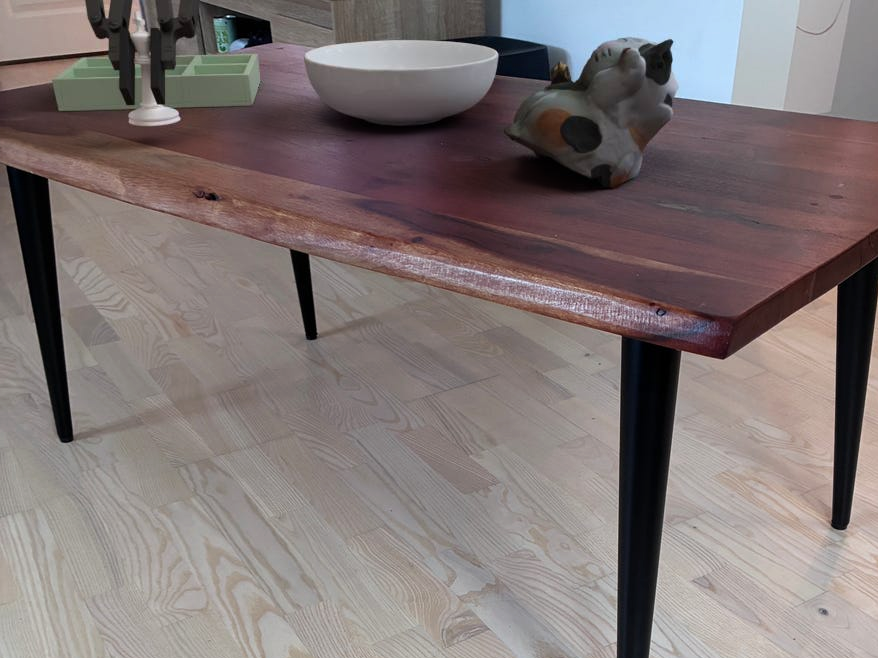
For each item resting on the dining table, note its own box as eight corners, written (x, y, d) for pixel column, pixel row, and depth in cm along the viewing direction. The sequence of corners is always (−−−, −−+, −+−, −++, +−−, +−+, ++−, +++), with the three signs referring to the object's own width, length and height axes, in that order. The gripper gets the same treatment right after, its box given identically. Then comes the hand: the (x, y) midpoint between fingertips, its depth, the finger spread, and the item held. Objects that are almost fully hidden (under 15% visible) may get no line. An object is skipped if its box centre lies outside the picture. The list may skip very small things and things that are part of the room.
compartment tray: (58, 111, 106) (51, 79, 104) (87, 86, 118) (81, 57, 117) (252, 105, 108) (248, 74, 107) (260, 82, 121) (257, 53, 119)
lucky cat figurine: (525, 146, 91) (597, 10, 87) (629, 207, 89) (709, 72, 85) (481, 135, 77) (564, -28, 73) (604, 208, 75) (697, 46, 71)
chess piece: (165, 113, 95) (148, 7, 90) (189, 121, 92) (173, 12, 87) (119, 120, 92) (99, 11, 87) (143, 128, 89) (124, 16, 84)
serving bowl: (534, 112, 105) (535, 48, 101) (416, 150, 90) (414, 76, 87) (394, 91, 116) (391, 32, 112) (268, 122, 101) (261, 55, 97)
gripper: (226, -80, 98) (231, 117, 92) (75, -80, 96) (71, 121, 90) (213, -139, 90) (218, 70, 84) (51, -141, 89) (44, 73, 83)
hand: (142, 96), depth 87 cm, fingers closed on chess piece, 2 cm apart
